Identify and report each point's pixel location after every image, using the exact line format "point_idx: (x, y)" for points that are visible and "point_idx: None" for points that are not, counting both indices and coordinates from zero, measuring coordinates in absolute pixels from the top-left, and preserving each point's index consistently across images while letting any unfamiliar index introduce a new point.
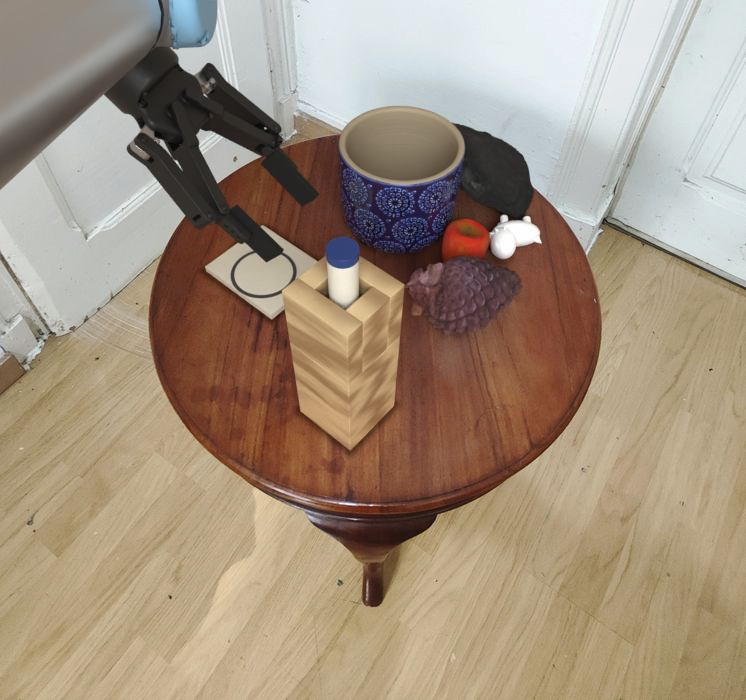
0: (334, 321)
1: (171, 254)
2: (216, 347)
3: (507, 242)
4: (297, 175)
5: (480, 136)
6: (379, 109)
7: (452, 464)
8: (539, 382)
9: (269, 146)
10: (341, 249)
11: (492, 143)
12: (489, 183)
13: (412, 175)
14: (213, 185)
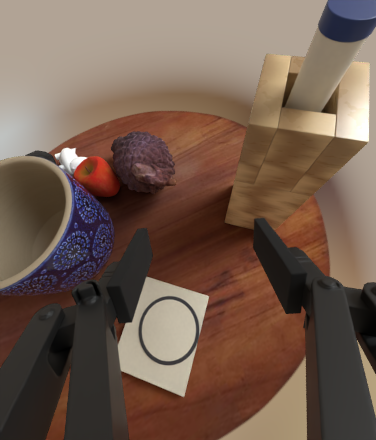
0: (362, 78)
1: None
2: (256, 327)
3: (83, 158)
4: (133, 249)
5: None
6: None
7: None
8: (179, 125)
9: (104, 305)
10: (359, 3)
11: None
12: (37, 156)
13: (22, 246)
14: (331, 328)
